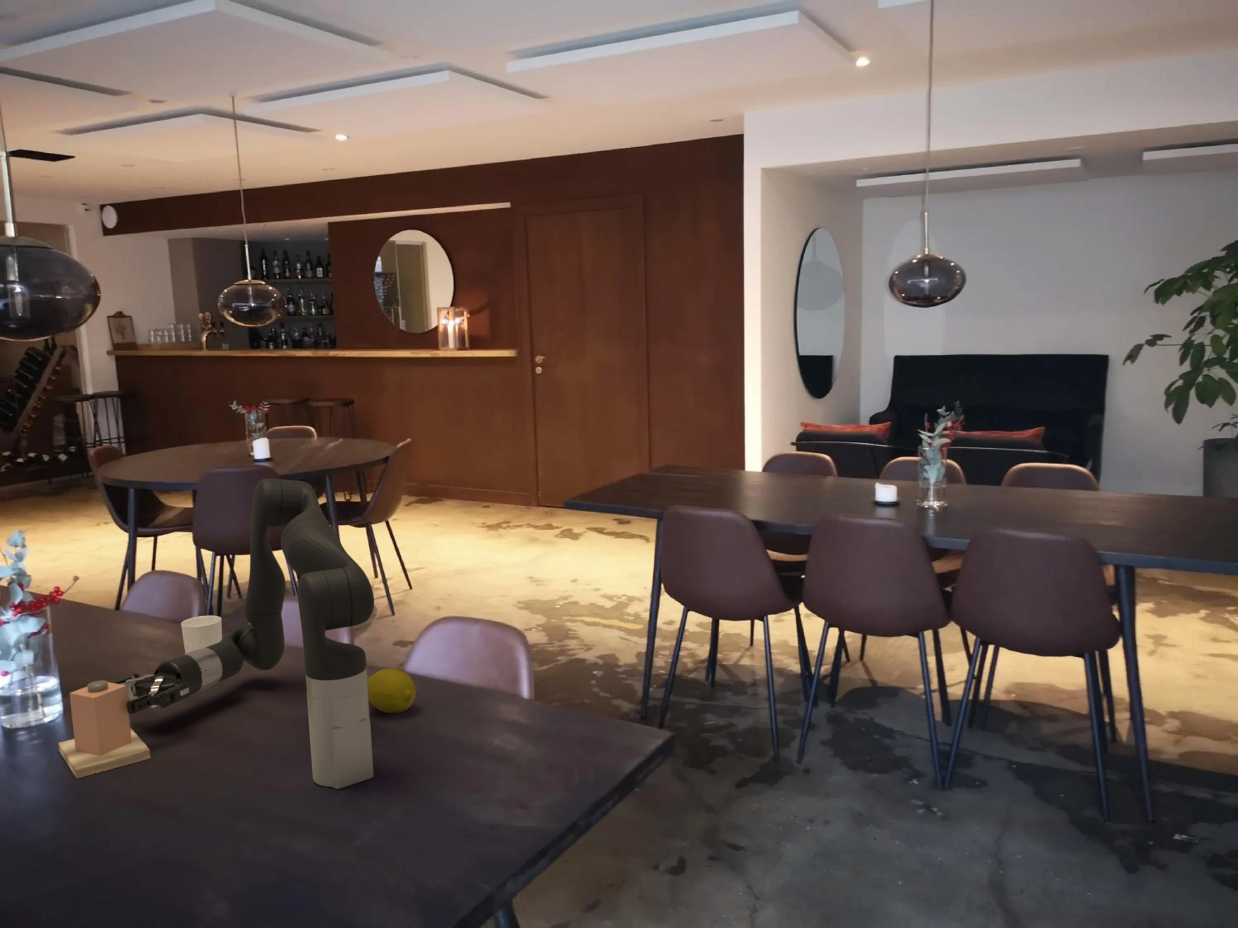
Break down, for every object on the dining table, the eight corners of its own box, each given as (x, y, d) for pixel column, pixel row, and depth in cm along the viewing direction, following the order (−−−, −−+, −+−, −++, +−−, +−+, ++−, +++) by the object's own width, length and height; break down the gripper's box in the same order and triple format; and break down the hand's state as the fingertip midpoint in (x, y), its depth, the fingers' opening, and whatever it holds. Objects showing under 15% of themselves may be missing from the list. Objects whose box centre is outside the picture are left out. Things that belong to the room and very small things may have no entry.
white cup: (231, 660, 211) (228, 615, 210) (213, 672, 204) (209, 626, 202) (197, 659, 212) (193, 615, 211) (177, 672, 204) (173, 626, 203)
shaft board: (150, 758, 162) (145, 709, 161) (76, 778, 155) (71, 727, 154) (129, 733, 173) (124, 687, 172) (59, 751, 166) (54, 703, 165)
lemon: (426, 711, 179) (424, 670, 178) (390, 724, 174) (388, 681, 173) (392, 697, 187) (390, 657, 186) (357, 710, 181) (354, 668, 180)
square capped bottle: (131, 741, 165) (125, 679, 164) (99, 755, 160) (93, 691, 159) (107, 736, 168) (101, 675, 166) (75, 750, 163) (68, 687, 161)
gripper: (160, 649, 182) (80, 678, 167) (215, 658, 176) (138, 689, 161) (163, 687, 183) (85, 719, 168) (219, 698, 177) (142, 732, 162)
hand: (111, 704), depth 165 cm, fingers open, 8 cm apart
